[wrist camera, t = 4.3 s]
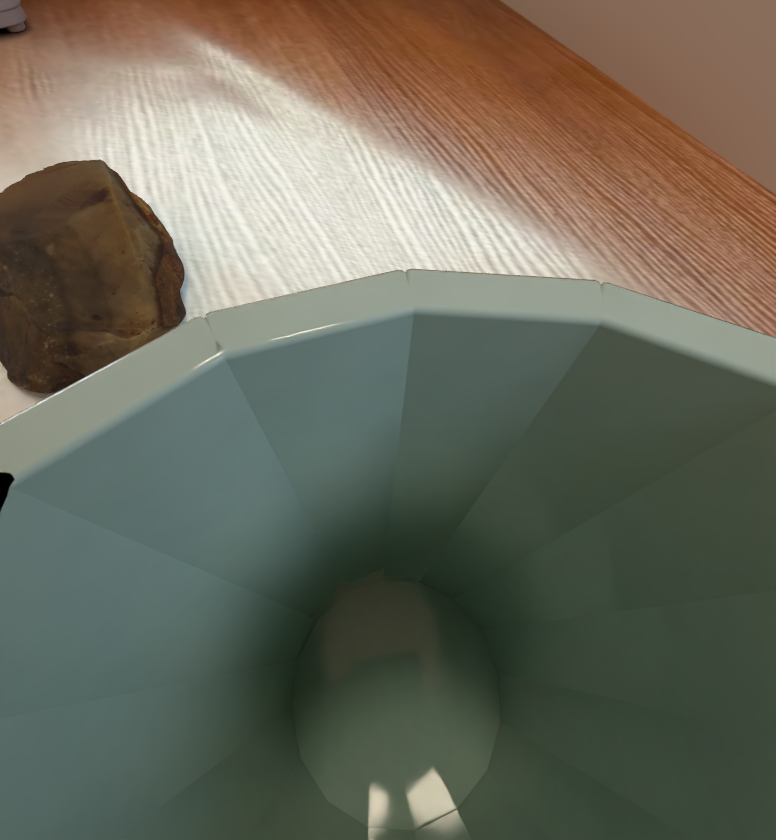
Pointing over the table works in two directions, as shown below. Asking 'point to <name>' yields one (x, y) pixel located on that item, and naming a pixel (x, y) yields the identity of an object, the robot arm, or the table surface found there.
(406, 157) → the table surface
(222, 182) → the table surface
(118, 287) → the decorative stone
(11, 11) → the projector
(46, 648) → the cup
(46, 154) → the table surface
